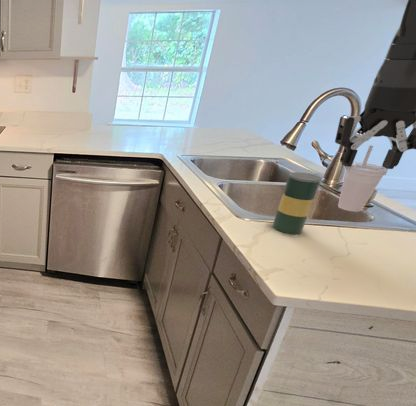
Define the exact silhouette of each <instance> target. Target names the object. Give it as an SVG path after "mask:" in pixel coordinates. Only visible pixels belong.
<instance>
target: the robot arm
mask: <svg viewBox="0 0 416 406" xmlns="http://www.w3.org/2000/svg"><path fill="white" fill-rule="evenodd" d="M358 123H359V127H358V128H357V129H356V130H355V131H354V132H353V133H352V131H353V128H354V127H356V126H357V124H358ZM411 126H412V129H411V131H410V133H409V134H408V135H407V132H406V131H407V129H408V128H409V127H411ZM372 137H374V138H376V137H386V138H387V140H389V143H390V148H389V149H388V150H387V153H386V155H385V157H384V159H383V161H382V164H381V166H382V167H385V168H386V169H387V170H393V169H394V168H395V167H397V166H398V165H399V163H400V161H401V159H402V156H403V154H404V153H405V152H406V151H410V150H416V0H407V2H406V5H405V8H404V11H403V14H402V17H401V21H400V24H399V26H398V29H397V30H396V32H395V33H394V35H393V37H392V39H391V42H390V44H389V47H388V49H387V52H386V54H385V57H384V59H383V62H382V63H381V65H380V67H379V69H378V70H377V73H376V74H375V77H374V79H373V83H372V86H371V88H370V90H369V93H368V96H367V98H366V101H365V103H364V109H363V111H362V112H361V113H360V114H359V115H352V116H351V115H345V114H344V115H341V116H340V118H339V121H338V126H337V131H336V134H335V140H334V143H335V144H338V145H340V146H342V147H343V151H342V153H341V156H340V159H339V162H340V163H341V165H342V166H343V167H345V166H347V167H351V166H352V163H353V162H355V159H356V156H357V154H358V148H359V147H361V146H362V145H363V144H364V143H365V142H368V141H369V140H370V139H371V138H372Z"/></svg>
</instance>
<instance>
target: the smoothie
mask: <svg viewBox="0 0 416 406" xmlns="http://www.w3.org/2000/svg"><path fill="white" fill-rule="evenodd" d="M373 148H374V145H369V146H368V149H367V151H366V152H365V153H366V154H365V156H364V159H363V161H362V162H355V161H353V163H352V166H351V167H347V166H343V169H344V170H345V171H344V176H343V180H342V185H341V189H340V194H339V200H338V205H337V207H338V208H339V209H341V210H343V211H347V212H354V213H358V212H362V210H363V208H364V207H365V206H366V203H367V202H368V201H369V199H370V198H371V195H372V194H373V193H374V191H375V189H376V188H377V186H378V185H379V183H380V182H381V180H382V178H383V177H384V176H386V175H387V173H388V170H389V169H386V168H385V167H383V166H382V165H377V164H373V163H368V161H369V158H370V156H371V152H372V151H373Z"/></svg>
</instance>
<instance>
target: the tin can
mask: <svg viewBox="0 0 416 406" xmlns="http://www.w3.org/2000/svg"><path fill="white" fill-rule="evenodd" d="M321 182H322V177H321V176H320V175H316V174H313V173H308V172H300V171H297V172H296V171H295V172H294V171H293V172H289V174H288V178H287V181H286V184H285V187H284V190H283V193H282V195H281V198H280V200H279V204H278V207H277V211H276V213H275V218H274V220H273V222H272V228H273V229H274V230H276V231H278V232H281V233H283V234H289V235H300V234H302V232H303V230H304V227H305V224H306V222H307V219H308V216H309V214H310V211H311V208H312V206H313V204H314V200H315V197H316V194H317V191H318V189H319V187H320V184H321Z"/></svg>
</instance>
